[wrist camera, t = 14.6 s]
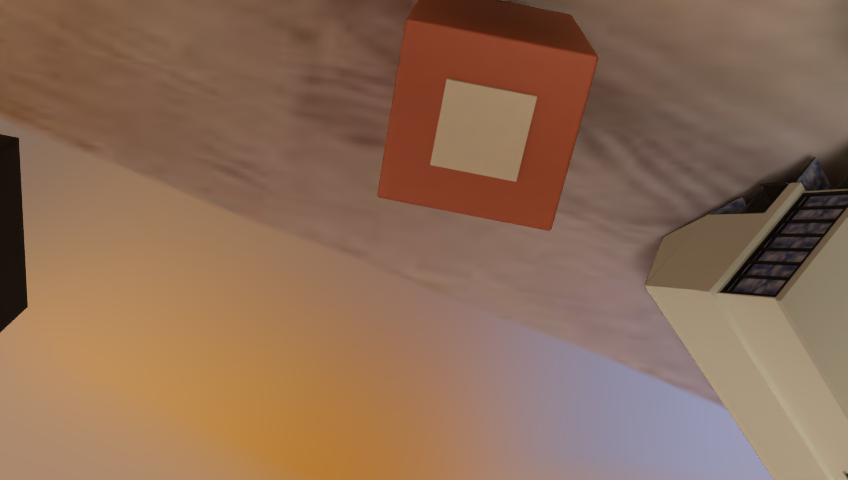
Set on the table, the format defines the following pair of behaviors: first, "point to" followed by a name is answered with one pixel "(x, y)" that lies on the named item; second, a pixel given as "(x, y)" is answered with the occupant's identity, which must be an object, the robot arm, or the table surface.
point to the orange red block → (486, 109)
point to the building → (769, 318)
